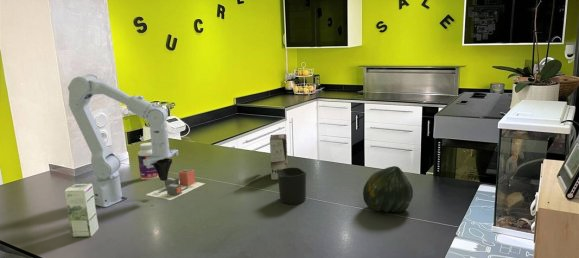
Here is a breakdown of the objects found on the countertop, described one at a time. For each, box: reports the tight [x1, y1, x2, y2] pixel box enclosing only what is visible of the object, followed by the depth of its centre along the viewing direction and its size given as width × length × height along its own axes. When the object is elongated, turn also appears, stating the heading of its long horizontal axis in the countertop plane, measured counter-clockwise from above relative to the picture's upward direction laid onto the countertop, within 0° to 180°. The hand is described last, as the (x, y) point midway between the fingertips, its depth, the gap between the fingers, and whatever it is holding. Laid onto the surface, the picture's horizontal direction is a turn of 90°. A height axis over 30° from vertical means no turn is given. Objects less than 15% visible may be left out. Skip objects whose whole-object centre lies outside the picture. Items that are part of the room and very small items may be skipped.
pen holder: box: [277, 167, 307, 205], centre depth 145 cm, size 9×9×10 cm
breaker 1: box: [164, 176, 180, 187], centre depth 159 cm, size 3×4×3 cm
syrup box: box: [64, 183, 99, 238], centre depth 125 cm, size 6×6×14 cm
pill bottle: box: [137, 141, 159, 181], centre depth 172 cm, size 8×8×14 cm
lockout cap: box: [178, 168, 196, 186], centre depth 162 cm, size 4×4×5 cm
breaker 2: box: [167, 184, 182, 196], centre depth 152 cm, size 3×5×3 cm, turn 61°
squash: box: [362, 165, 414, 213], centre depth 134 cm, size 14×15×15 cm
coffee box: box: [269, 133, 289, 180], centre depth 169 cm, size 9×6×16 cm
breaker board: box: [145, 179, 206, 201], centre depth 157 cm, size 18×12×1 cm, turn 151°
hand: (163, 180), depth 150 cm, fingers closed
